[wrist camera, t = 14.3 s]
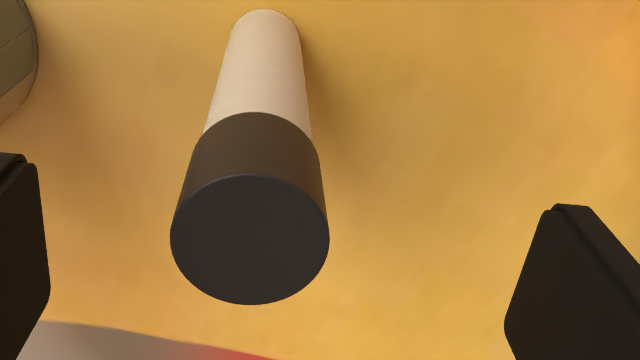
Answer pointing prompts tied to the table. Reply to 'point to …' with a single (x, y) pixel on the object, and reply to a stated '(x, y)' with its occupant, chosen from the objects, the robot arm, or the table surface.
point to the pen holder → (15, 55)
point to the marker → (254, 175)
